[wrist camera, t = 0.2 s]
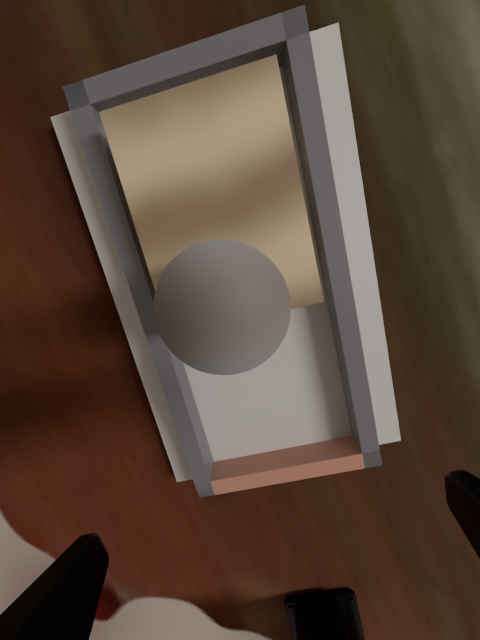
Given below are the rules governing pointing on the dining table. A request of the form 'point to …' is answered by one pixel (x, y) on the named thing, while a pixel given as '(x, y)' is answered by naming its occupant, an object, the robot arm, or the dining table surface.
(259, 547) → the dining table surface
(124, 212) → the bay
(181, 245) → the cylinder on cream base
